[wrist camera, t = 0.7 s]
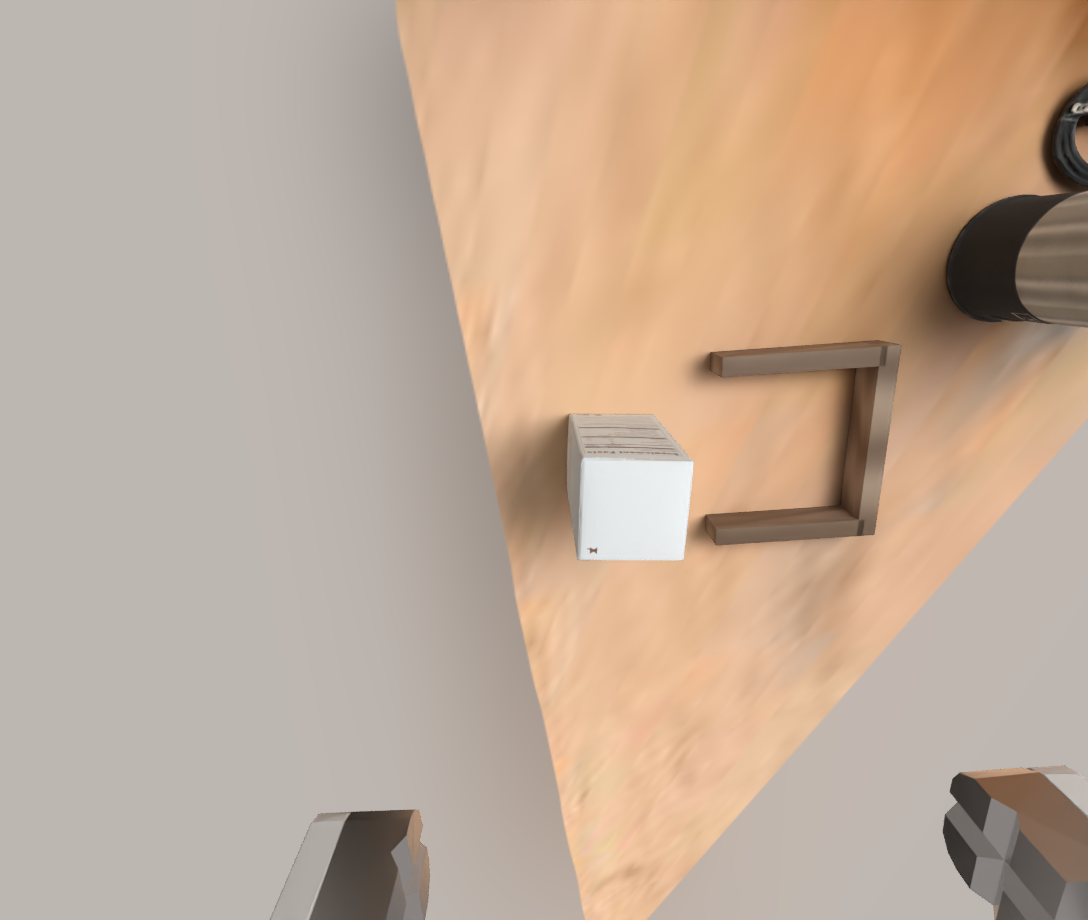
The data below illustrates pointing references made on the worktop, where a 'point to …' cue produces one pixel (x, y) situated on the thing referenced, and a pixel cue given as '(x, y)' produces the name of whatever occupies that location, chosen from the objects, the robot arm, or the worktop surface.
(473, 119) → the worktop surface
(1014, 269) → the milk frother
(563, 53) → the worktop surface
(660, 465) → the supplement box
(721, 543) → the walnut corral
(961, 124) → the worktop surface
